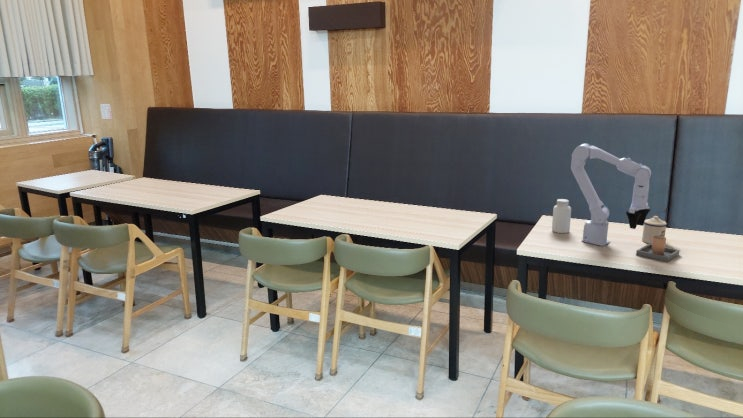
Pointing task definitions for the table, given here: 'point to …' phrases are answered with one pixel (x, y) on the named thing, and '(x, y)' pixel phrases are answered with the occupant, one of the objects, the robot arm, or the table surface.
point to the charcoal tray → (646, 252)
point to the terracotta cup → (658, 245)
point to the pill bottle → (561, 216)
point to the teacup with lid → (653, 229)
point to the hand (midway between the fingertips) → (636, 226)
